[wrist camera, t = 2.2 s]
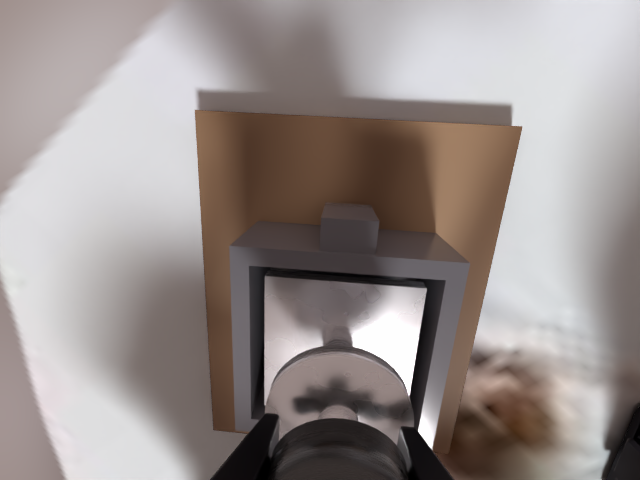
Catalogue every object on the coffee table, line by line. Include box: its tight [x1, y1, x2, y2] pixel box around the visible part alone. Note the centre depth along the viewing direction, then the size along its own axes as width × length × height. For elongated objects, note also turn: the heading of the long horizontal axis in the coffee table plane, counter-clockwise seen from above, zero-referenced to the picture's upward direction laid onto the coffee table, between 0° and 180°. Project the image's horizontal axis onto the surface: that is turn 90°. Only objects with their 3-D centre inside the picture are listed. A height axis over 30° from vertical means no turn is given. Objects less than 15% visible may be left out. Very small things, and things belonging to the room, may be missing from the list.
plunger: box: [264, 270, 427, 480], centre depth 10 cm, size 6×6×7 cm
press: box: [229, 202, 470, 449], centre depth 14 cm, size 8×10×4 cm
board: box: [195, 110, 522, 454], centre depth 16 cm, size 14×18×1 cm
